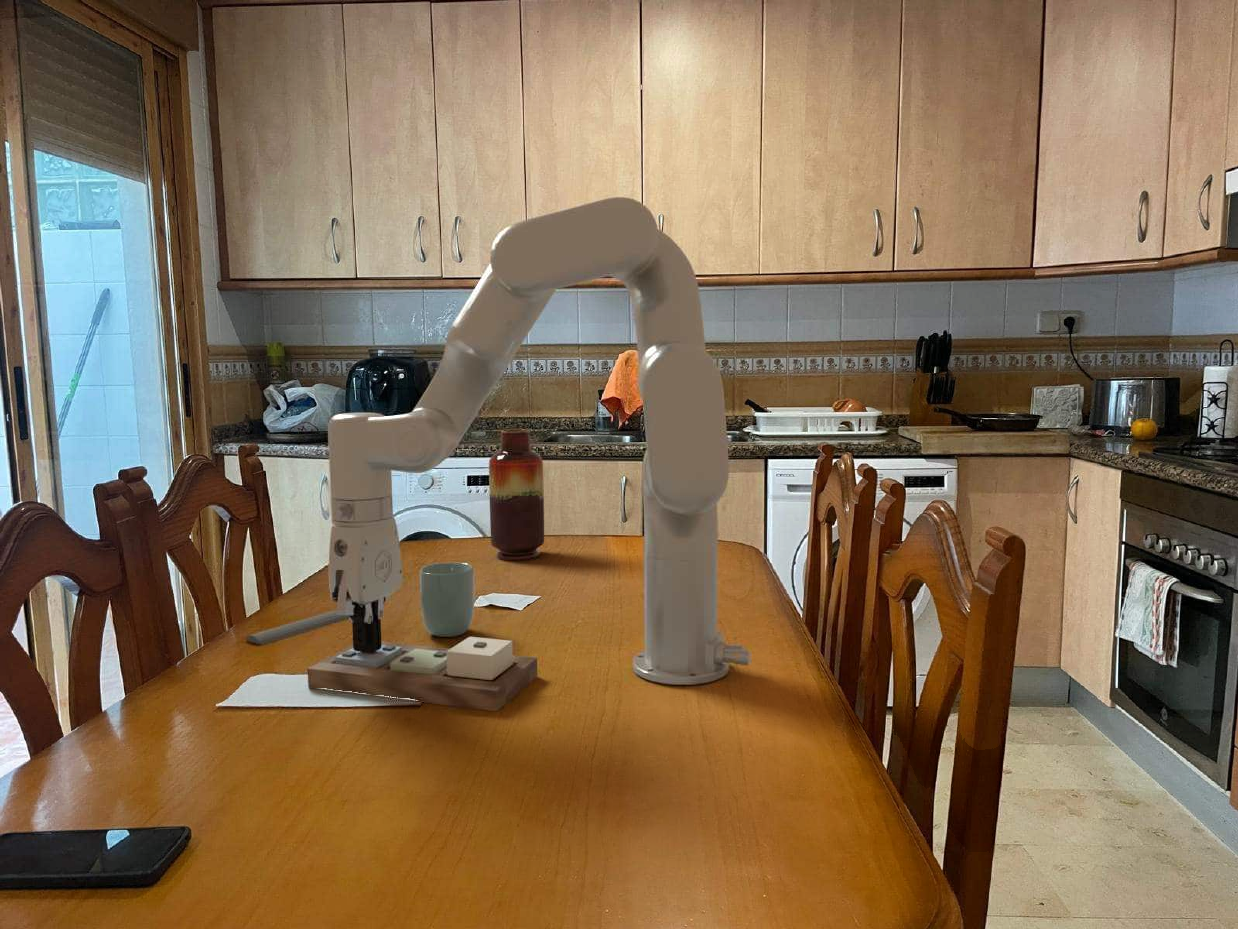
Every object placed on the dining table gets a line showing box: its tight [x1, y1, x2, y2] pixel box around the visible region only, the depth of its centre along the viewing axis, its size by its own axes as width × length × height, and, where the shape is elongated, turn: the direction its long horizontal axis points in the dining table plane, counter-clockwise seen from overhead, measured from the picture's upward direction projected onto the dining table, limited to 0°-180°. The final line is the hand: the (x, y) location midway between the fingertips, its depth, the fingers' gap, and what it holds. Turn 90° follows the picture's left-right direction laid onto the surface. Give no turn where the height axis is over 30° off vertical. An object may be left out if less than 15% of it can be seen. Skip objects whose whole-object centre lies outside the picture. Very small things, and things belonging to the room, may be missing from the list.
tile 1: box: [447, 636, 514, 681], centre depth 111 cm, size 6×6×3 cm
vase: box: [488, 428, 545, 562], centre depth 185 cm, size 11×11×26 cm
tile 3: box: [335, 645, 402, 669], centre depth 116 cm, size 6×6×3 cm
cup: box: [419, 561, 475, 638], centre depth 134 cm, size 8×8×10 cm
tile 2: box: [390, 649, 447, 675], centre depth 114 cm, size 6×6×3 cm
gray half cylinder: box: [245, 609, 349, 646], centre depth 138 cm, size 4×20×2 cm, turn 146°
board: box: [306, 641, 538, 712], centre depth 114 cm, size 26×12×2 cm, turn 72°
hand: (367, 649), depth 116 cm, fingers closed
